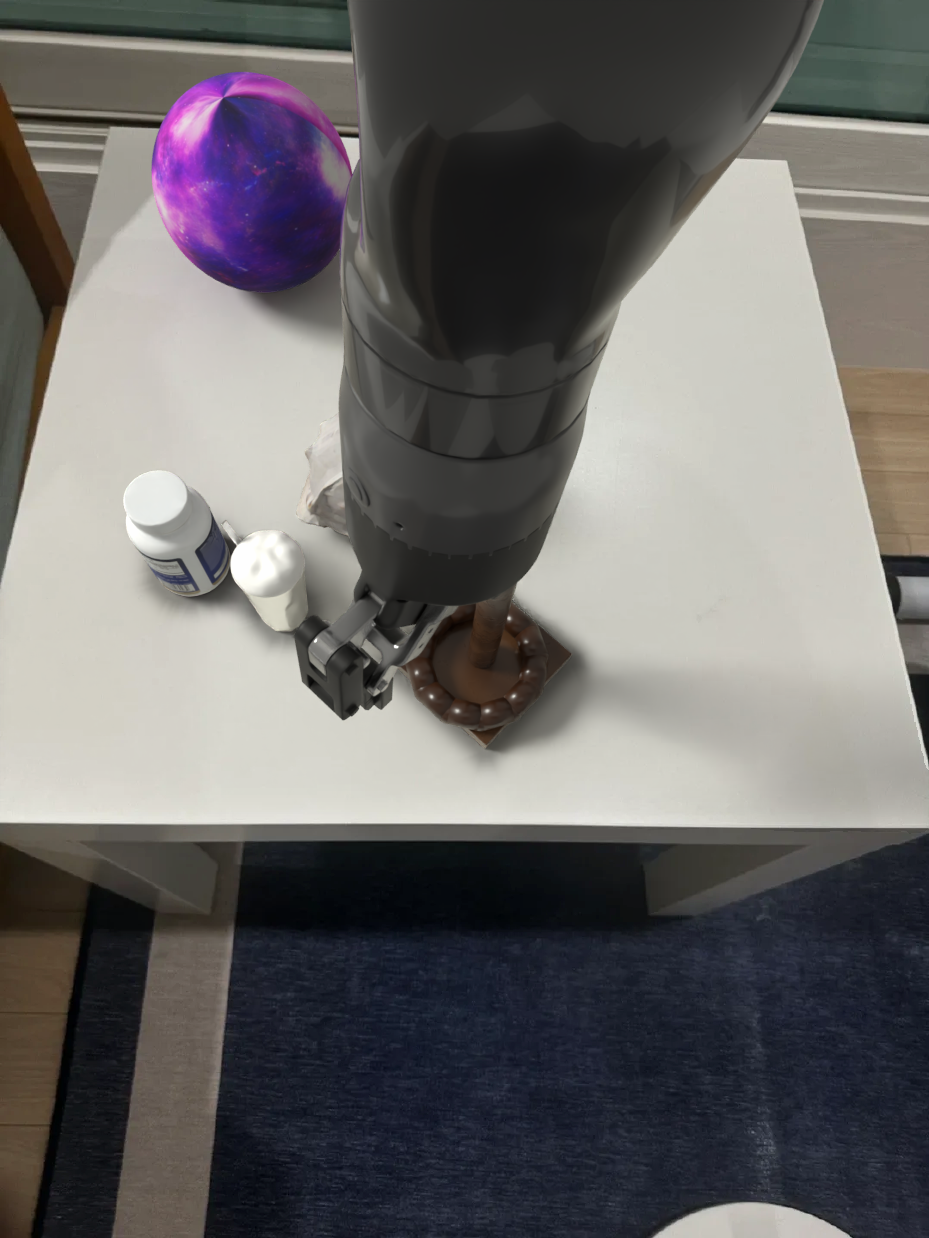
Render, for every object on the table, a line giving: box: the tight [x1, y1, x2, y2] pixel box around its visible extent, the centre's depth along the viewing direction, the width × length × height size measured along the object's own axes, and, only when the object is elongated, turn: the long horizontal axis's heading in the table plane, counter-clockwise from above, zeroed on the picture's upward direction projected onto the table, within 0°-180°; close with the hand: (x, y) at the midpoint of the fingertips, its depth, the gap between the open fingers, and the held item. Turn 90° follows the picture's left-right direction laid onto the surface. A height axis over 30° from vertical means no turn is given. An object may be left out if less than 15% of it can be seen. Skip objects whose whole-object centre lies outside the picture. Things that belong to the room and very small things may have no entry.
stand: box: [397, 582, 573, 750], centre depth 52 cm, size 9×9×17 cm
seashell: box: [295, 411, 349, 537], centre depth 61 cm, size 12×14×10 cm
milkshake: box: [220, 519, 309, 632], centre depth 56 cm, size 4×5×10 cm
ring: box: [405, 602, 549, 731], centre depth 58 cm, size 10×10×2 cm
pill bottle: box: [122, 469, 231, 597], centre depth 57 cm, size 5×5×10 cm
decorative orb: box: [151, 71, 353, 294], centre depth 65 cm, size 15×15×15 cm
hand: (429, 636), depth 43 cm, fingers open, 7 cm apart
